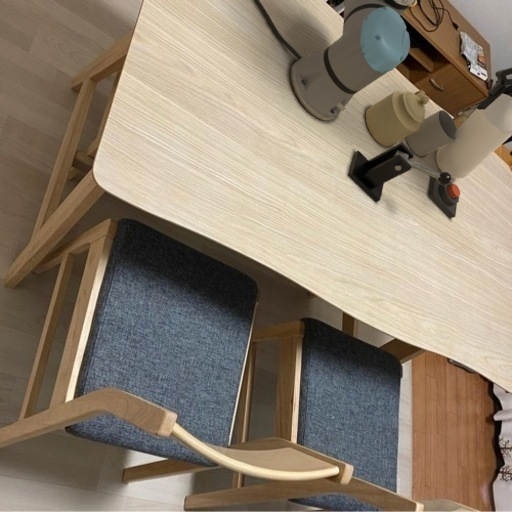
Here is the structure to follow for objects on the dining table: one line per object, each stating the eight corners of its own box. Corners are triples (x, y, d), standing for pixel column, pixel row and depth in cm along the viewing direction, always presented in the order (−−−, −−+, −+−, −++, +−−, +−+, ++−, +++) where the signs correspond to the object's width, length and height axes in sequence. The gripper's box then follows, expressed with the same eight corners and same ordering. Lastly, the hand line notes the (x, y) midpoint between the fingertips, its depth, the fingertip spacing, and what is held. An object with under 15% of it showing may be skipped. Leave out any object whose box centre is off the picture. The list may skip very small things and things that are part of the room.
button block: (427, 196, 150) (439, 190, 148) (431, 175, 155) (442, 170, 153) (450, 218, 154) (461, 214, 152) (452, 198, 159) (463, 193, 156)
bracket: (381, 179, 138) (422, 158, 130) (376, 202, 134) (418, 182, 125) (354, 152, 134) (395, 129, 126) (348, 175, 130) (389, 152, 121)
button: (446, 193, 151) (451, 190, 149) (447, 183, 153) (453, 181, 152) (454, 201, 152) (459, 199, 151) (455, 192, 154) (460, 189, 153)
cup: (425, 161, 155) (457, 145, 148) (406, 145, 151) (438, 128, 144) (425, 138, 160) (456, 121, 152) (406, 122, 155) (438, 104, 148)
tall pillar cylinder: (429, 163, 159) (475, 114, 136) (447, 137, 163) (494, 85, 139) (461, 185, 158) (513, 139, 135) (478, 159, 162) (531, 110, 139)
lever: (447, 180, 130) (454, 172, 127) (446, 190, 128) (453, 181, 126) (392, 156, 129) (398, 147, 127) (390, 165, 127) (396, 156, 125)
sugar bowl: (366, 88, 147) (415, 56, 137) (394, 112, 153) (442, 82, 142) (363, 131, 140) (414, 101, 129) (392, 154, 145) (443, 127, 135)
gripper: (586, 109, 133) (516, 172, 134) (530, 22, 126) (457, 88, 127) (610, 109, 125) (537, 175, 127) (552, 16, 118) (475, 87, 120)
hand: (497, 132), depth 127 cm, fingers open, 13 cm apart
